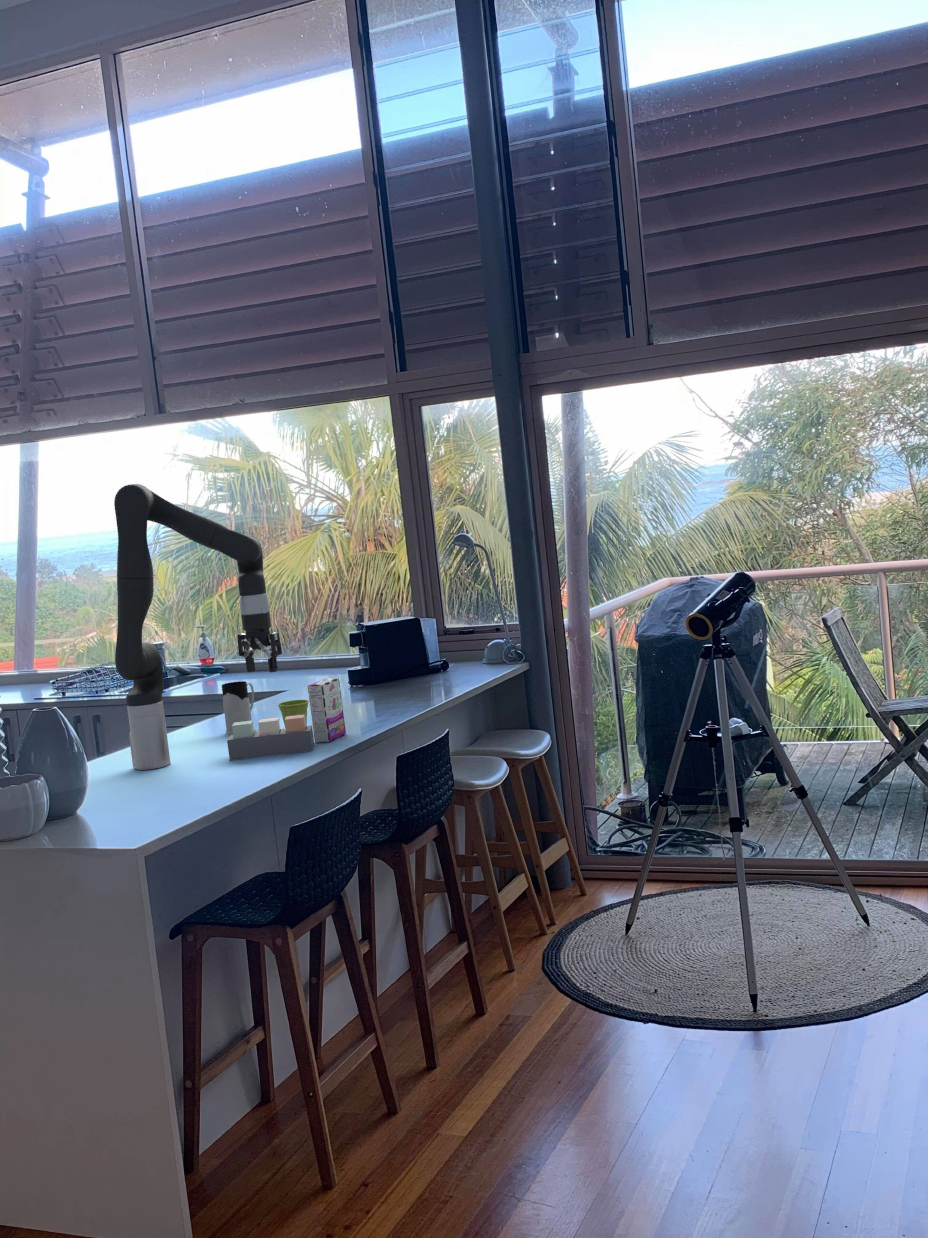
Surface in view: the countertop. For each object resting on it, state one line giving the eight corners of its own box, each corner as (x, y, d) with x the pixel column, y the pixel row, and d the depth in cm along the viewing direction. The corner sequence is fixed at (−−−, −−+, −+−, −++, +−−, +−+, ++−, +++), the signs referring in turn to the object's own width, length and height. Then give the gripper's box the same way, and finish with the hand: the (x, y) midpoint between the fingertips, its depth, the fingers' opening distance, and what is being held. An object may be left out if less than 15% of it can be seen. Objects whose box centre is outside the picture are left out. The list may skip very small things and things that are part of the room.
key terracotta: (286, 738, 305) (284, 719, 305) (288, 734, 310) (286, 716, 310) (305, 735, 305) (303, 717, 305) (306, 732, 310) (304, 714, 310)
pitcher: (219, 735, 344) (213, 686, 343) (245, 725, 358) (239, 678, 356) (244, 734, 341) (238, 685, 340) (269, 725, 354) (263, 677, 353)
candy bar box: (330, 734, 326) (324, 678, 324) (346, 734, 324) (340, 677, 323) (313, 743, 315) (306, 684, 314) (329, 742, 314) (323, 683, 312)
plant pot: (315, 726, 342) (312, 698, 341) (308, 733, 333) (305, 703, 332) (285, 729, 343) (281, 701, 342) (277, 735, 334) (273, 706, 333)
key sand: (260, 741, 305) (258, 722, 304) (262, 737, 310) (260, 719, 309) (279, 738, 305) (277, 720, 305) (280, 735, 310) (278, 717, 309)
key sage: (234, 744, 304) (231, 725, 304) (236, 740, 309) (234, 722, 309) (253, 742, 304) (250, 723, 304) (254, 738, 309) (252, 720, 309)
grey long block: (229, 760, 303) (226, 738, 302) (233, 754, 311) (230, 733, 310) (312, 750, 304) (310, 729, 304) (314, 745, 312) (311, 724, 312)
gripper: (226, 614, 305) (233, 674, 306) (262, 612, 296) (270, 674, 297) (247, 610, 311) (254, 669, 312) (284, 608, 302) (291, 669, 303)
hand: (262, 671), depth 305 cm, fingers open, 8 cm apart
